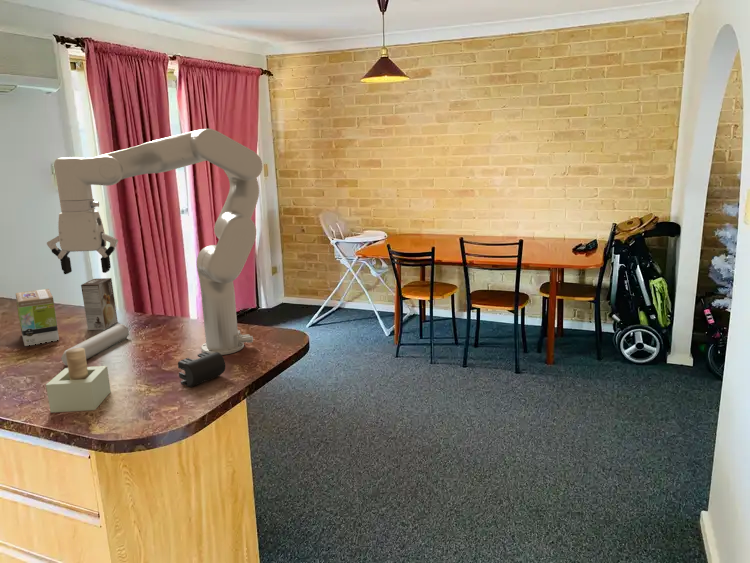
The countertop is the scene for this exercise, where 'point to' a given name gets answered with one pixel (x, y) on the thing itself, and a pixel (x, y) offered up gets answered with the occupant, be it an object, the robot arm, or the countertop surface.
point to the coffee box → (99, 303)
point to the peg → (77, 364)
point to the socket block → (78, 390)
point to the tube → (101, 341)
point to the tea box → (37, 316)
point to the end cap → (201, 368)
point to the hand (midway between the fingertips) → (87, 272)
